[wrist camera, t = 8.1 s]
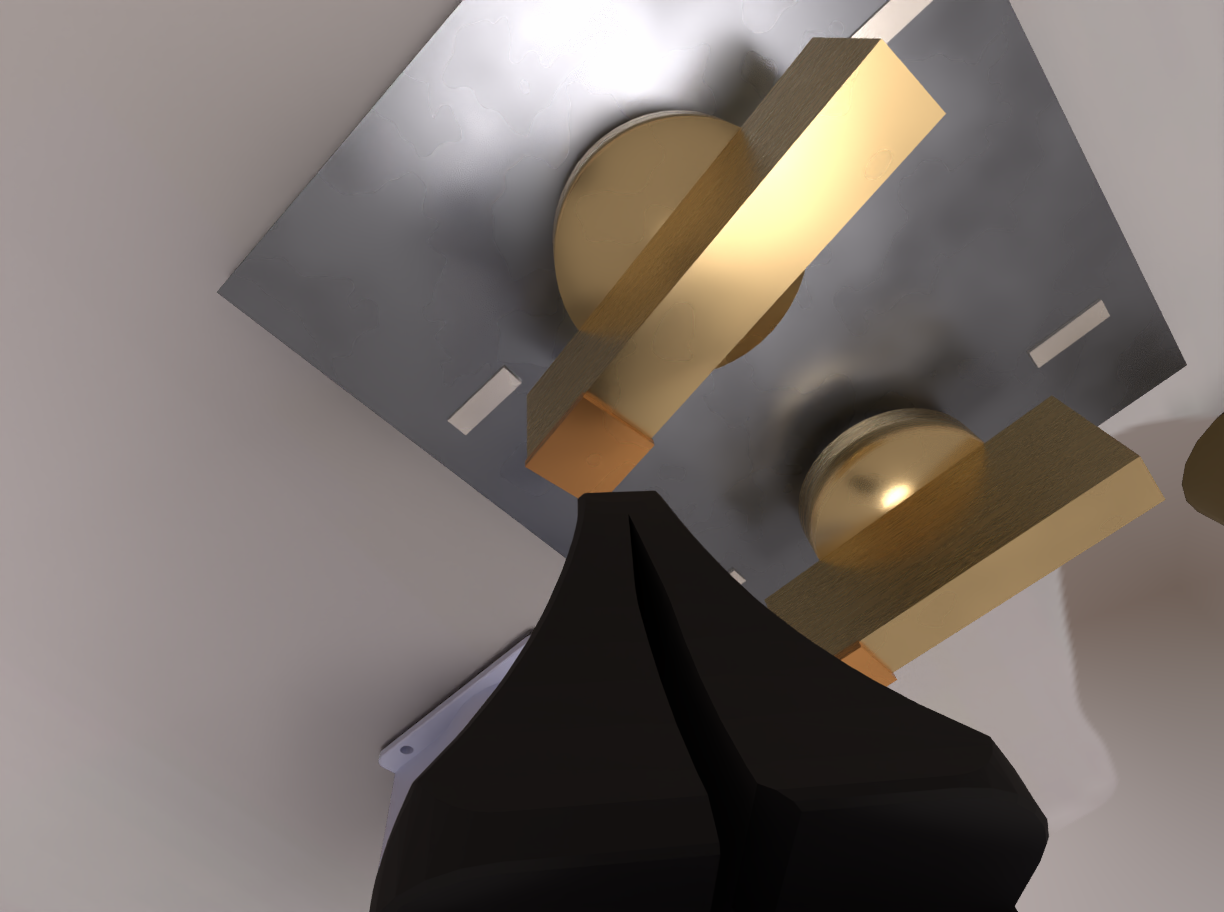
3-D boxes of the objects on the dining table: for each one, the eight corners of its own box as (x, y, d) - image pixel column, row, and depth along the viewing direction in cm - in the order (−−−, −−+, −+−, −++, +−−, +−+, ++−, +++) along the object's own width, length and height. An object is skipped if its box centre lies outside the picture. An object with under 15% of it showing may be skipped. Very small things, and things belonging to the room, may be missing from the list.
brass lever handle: (895, 152, 17) (1020, 193, 13) (635, 442, 21) (665, 551, 16) (720, -36, 15) (801, -64, 11) (460, 325, 19) (440, 415, 14)
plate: (720, 661, 29) (731, 696, 27) (230, 280, 19) (204, 302, 18) (1163, 353, 24) (1207, 375, 22) (791, -383, 14) (823, -434, 13)
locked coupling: (1069, 450, 23) (1199, 550, 18) (814, 624, 26) (874, 747, 21) (985, 323, 20) (1114, 404, 16) (712, 532, 23) (756, 651, 18)
